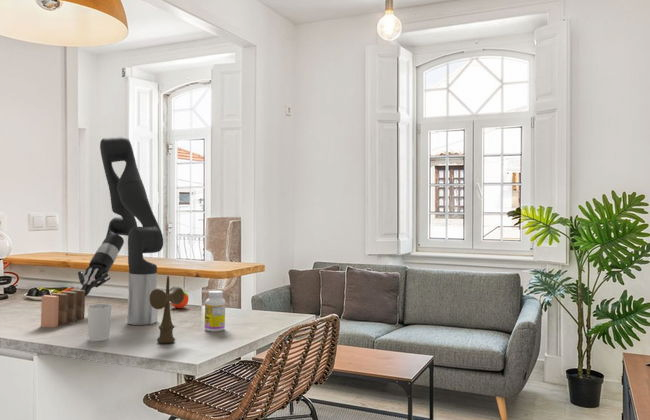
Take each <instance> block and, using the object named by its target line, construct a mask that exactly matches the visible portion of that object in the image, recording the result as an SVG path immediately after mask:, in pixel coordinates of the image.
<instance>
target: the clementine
mask: <svg viewBox="0 0 650 420" xmlns="http://www.w3.org/2000/svg"><path fill="white" fill-rule="evenodd" d="M183 292H184V299H183V301H182V303H180V304H174V303H171V302H170V305H172V307H174V308H176V309H183V308H185V307H186V306H187V305H188V303H189V299H190V297H189V294H188V293H187V292H186V291H184V290H183Z"/></svg>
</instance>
